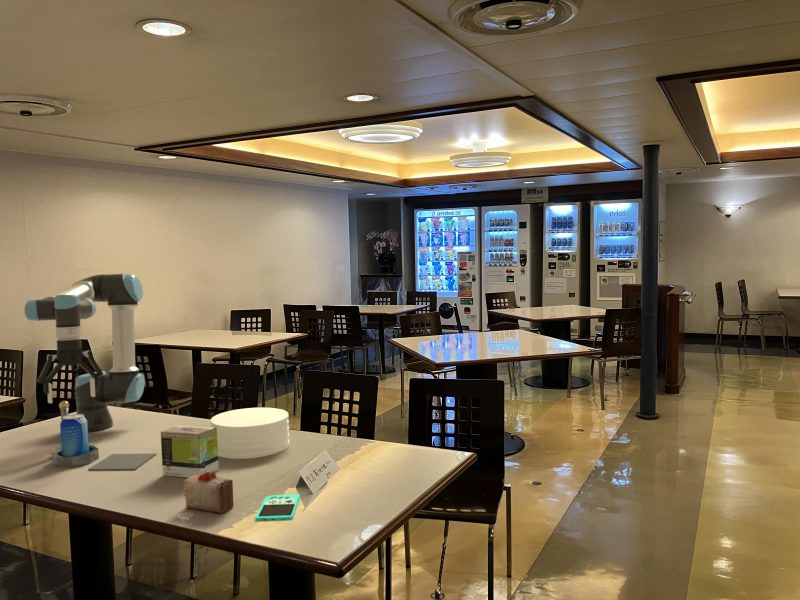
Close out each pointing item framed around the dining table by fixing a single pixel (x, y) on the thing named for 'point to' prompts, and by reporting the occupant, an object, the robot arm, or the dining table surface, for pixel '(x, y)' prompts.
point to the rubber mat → (122, 462)
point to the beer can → (74, 435)
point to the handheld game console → (278, 507)
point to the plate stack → (251, 432)
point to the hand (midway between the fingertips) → (72, 399)
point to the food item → (209, 493)
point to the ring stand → (78, 459)
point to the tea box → (189, 450)
